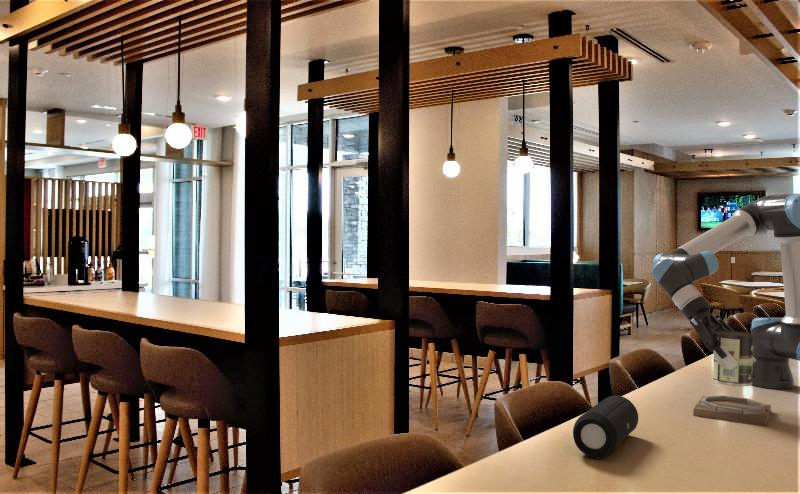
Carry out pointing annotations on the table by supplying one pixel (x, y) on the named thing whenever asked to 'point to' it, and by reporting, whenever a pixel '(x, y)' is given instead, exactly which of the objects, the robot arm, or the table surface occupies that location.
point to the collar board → (733, 409)
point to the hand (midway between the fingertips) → (743, 365)
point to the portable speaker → (605, 426)
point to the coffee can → (740, 351)
